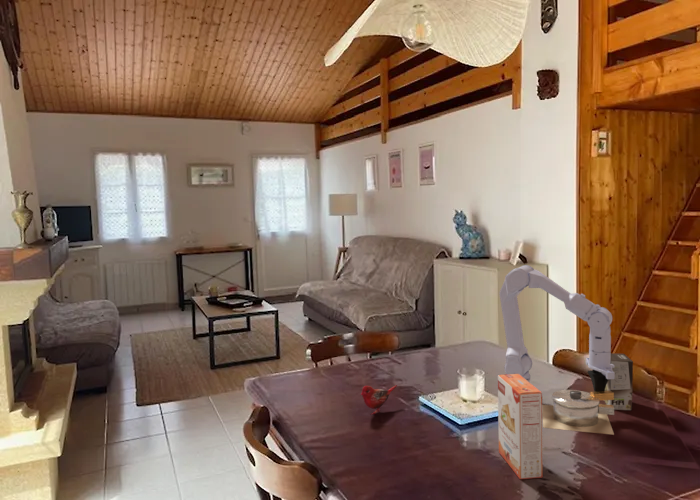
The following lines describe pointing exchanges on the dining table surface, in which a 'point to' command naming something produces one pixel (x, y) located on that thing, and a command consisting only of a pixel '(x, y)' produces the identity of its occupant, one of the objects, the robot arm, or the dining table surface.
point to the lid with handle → (581, 398)
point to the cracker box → (520, 425)
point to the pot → (580, 414)
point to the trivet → (600, 427)
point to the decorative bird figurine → (375, 397)
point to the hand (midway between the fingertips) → (599, 395)
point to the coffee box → (621, 382)
